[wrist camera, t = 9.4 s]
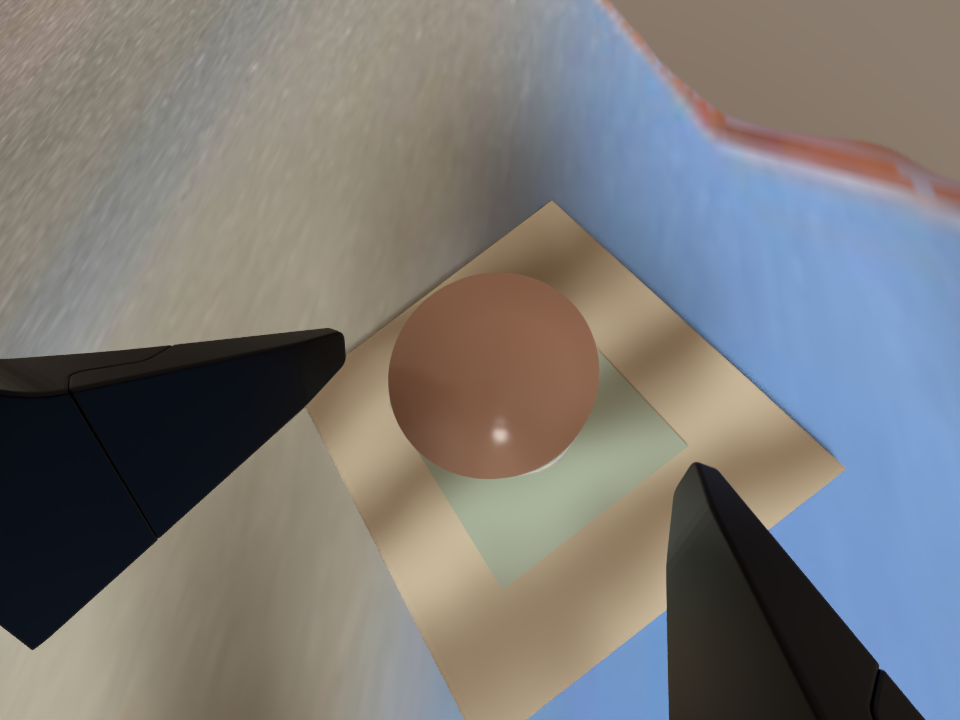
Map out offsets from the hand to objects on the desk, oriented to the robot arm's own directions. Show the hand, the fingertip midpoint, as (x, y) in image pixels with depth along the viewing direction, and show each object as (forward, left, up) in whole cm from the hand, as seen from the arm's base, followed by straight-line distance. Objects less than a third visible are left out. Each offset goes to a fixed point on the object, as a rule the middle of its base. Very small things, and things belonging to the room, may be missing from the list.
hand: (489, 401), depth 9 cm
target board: (0, 0, -9) cm, 9 cm away
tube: (0, 0, -8) cm, 9 cm away
